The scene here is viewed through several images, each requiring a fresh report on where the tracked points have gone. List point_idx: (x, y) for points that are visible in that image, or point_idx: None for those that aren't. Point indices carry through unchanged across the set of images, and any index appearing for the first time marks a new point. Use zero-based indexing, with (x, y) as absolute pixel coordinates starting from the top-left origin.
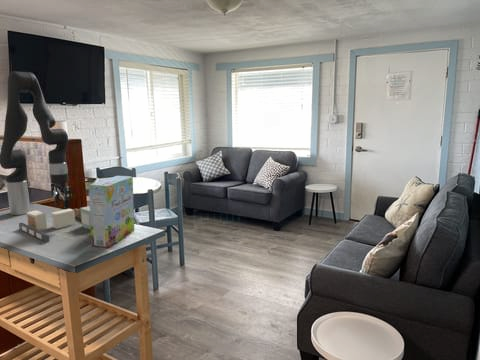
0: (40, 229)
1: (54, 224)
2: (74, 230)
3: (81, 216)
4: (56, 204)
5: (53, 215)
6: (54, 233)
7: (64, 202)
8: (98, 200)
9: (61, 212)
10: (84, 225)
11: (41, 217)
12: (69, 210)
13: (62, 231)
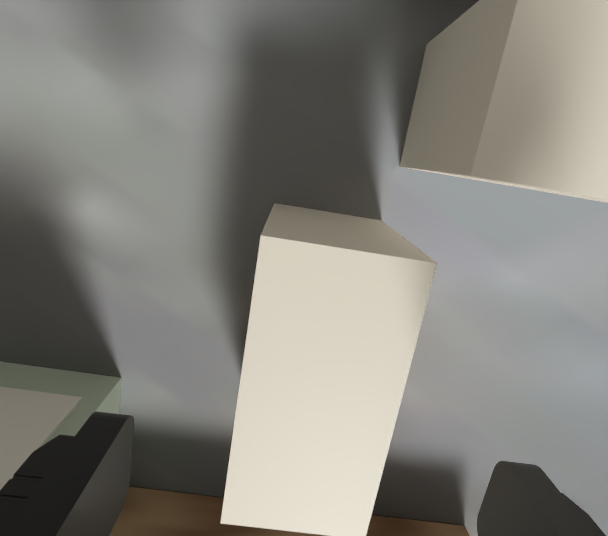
0: (417, 88)
1: (323, 216)
2: (59, 260)
3: None
4: (506, 476)
5: (337, 241)
6: (146, 81)
7: (11, 525)
8: None
9: (278, 359)
10: (57, 382)
11: (468, 95)
12: (268, 481)
13: (135, 174)
